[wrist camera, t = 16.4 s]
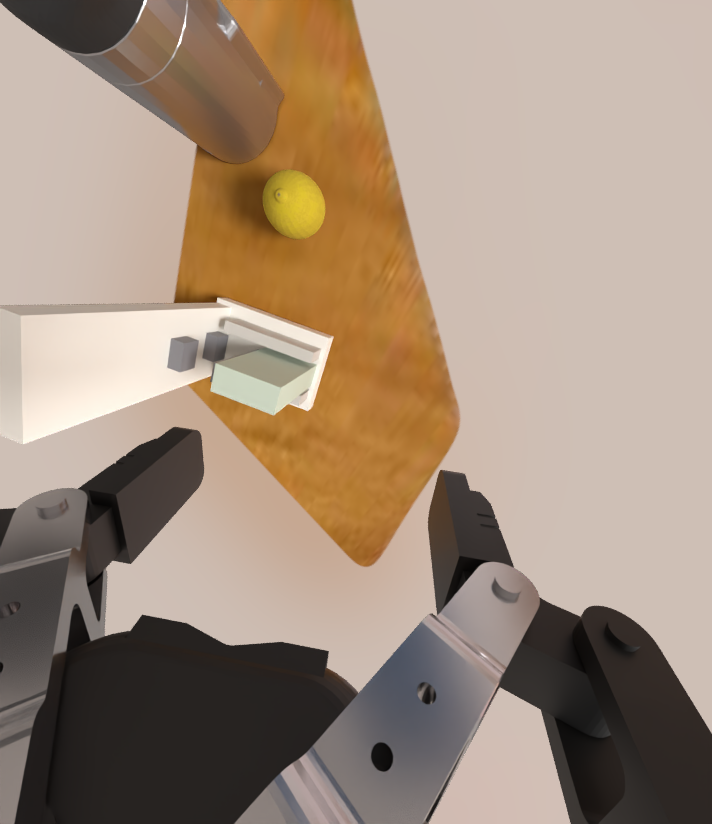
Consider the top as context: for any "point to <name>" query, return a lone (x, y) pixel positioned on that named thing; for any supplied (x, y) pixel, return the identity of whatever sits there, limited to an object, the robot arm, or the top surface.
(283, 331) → the white tall l-shaped piece
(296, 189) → the lemon
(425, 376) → the top surface
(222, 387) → the pale green slab
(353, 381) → the top surface
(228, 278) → the top surface
